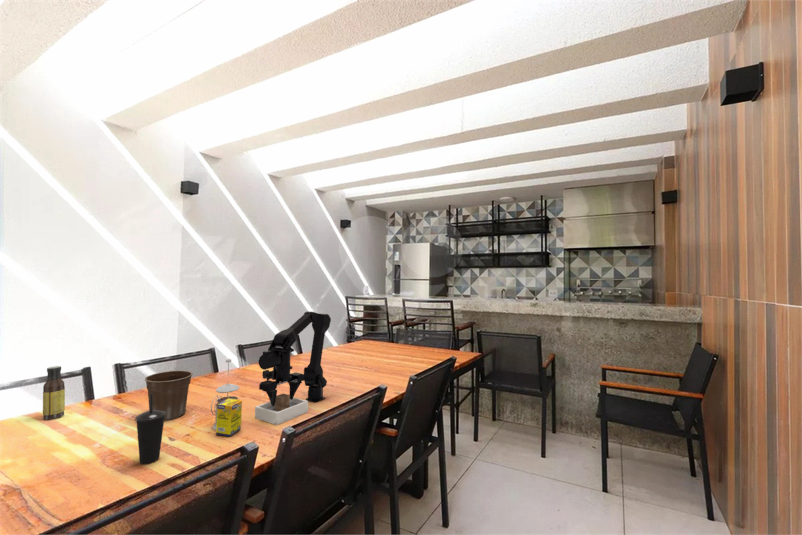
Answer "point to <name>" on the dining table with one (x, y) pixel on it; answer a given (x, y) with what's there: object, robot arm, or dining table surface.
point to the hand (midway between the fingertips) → (282, 402)
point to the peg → (282, 402)
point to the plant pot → (169, 392)
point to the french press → (224, 389)
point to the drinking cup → (150, 433)
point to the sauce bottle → (53, 394)
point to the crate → (281, 412)
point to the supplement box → (228, 417)
